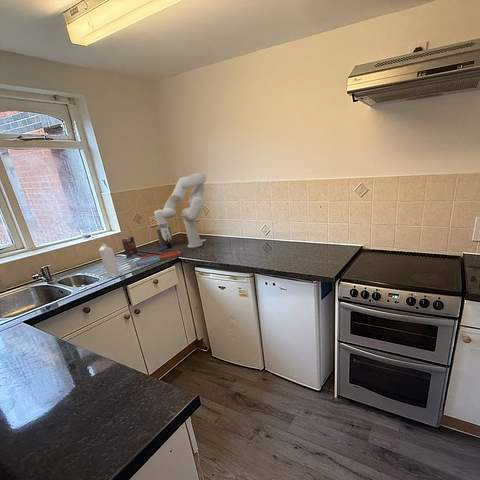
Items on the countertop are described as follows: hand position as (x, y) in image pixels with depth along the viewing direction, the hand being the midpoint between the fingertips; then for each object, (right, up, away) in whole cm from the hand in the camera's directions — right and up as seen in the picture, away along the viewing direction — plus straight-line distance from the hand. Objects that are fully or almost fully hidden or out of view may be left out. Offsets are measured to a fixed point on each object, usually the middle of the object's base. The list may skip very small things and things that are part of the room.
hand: (169, 248), depth 240 cm
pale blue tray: (-9, -12, -18) cm, 23 cm away
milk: (-23, -22, -40) cm, 51 cm away
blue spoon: (-2, -1, -1) cm, 3 cm away
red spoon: (-15, -8, -7) cm, 18 cm away
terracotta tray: (+4, -7, -11) cm, 13 cm away
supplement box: (-29, -7, -1) cm, 30 cm away
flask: (-11, +4, +24) cm, 26 cm away
